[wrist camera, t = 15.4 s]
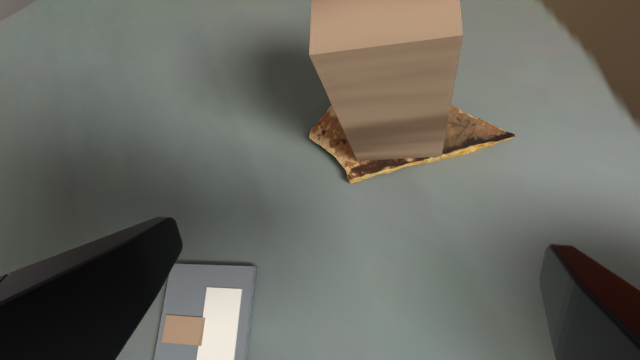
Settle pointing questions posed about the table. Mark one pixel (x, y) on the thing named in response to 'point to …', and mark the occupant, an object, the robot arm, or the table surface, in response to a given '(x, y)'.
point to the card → (206, 313)
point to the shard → (459, 140)
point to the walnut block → (388, 71)
